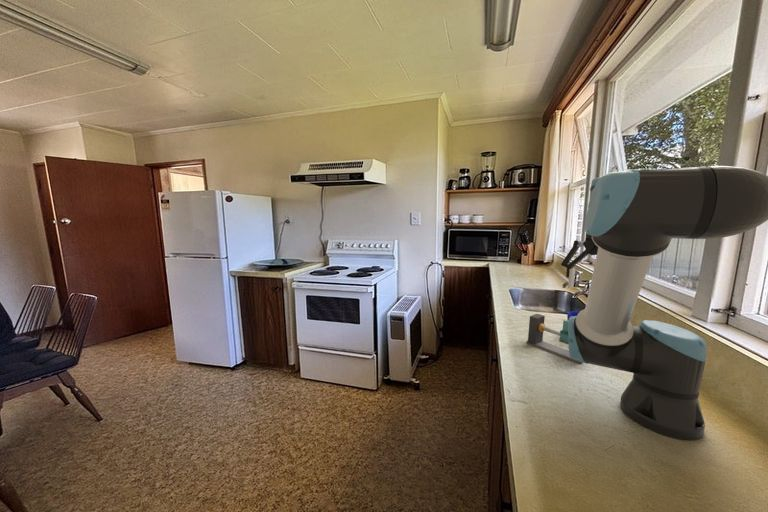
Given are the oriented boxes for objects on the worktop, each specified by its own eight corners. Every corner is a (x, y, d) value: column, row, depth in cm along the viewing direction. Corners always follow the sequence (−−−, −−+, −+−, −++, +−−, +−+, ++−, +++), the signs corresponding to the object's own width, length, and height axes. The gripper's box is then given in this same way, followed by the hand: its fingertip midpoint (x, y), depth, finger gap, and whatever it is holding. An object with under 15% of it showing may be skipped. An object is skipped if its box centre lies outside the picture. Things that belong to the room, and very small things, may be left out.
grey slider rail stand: (587, 359, 101) (590, 329, 99) (580, 364, 98) (584, 332, 96) (533, 339, 116) (535, 313, 115) (526, 342, 114) (528, 315, 112)
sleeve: (577, 342, 103) (579, 322, 101) (571, 345, 100) (573, 324, 99) (564, 338, 106) (566, 318, 105) (559, 341, 104) (561, 321, 102)
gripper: (655, 228, 87) (645, 297, 89) (563, 225, 106) (557, 282, 109) (649, 228, 82) (639, 301, 85) (554, 225, 101) (548, 285, 104)
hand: (593, 291), depth 97 cm, fingers open, 13 cm apart
